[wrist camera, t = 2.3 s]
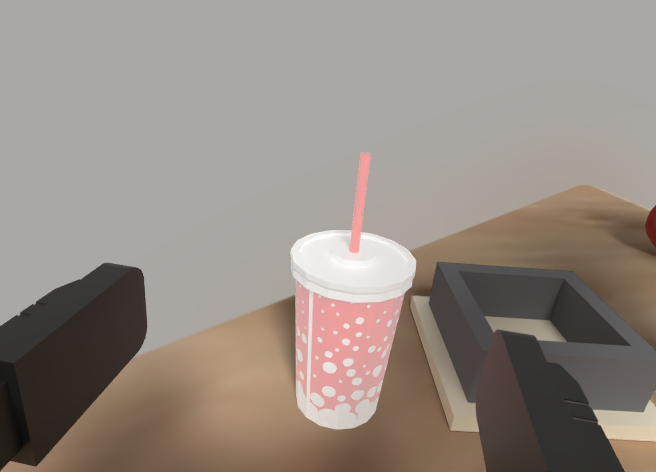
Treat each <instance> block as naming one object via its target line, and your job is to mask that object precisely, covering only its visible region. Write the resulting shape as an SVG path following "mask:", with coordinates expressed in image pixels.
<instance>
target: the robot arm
mask: <svg viewBox="0 0 656 472" xmlns="http://www.w3.org/2000/svg"><path fill="white" fill-rule="evenodd" d="M146 331H147V316H146V303H145V287H144V276H143V273H142V271H141V270H140V269H139V268H136V267H130V266H124V265H118V264H112V263H104V264H102V265H101V266H99V267H98V268H96V269H95V270H93V271H92V272H91V273H89V274H88V275H86V276H85V277H84V278H82V279H81V280H77V281H74V282H72V283H69V284H67V285H64V286H61V287H59V288H56V289H54V290H53V291H52V292H50V293H48V294H47V295H46V296H44V297H42V298H41V299H39V300H38V301H37V302H36V304H35V305H33V304H32V305H31V306H29V307H28V308H26V309H25V310H23V311H22V312H21V313H20V316H17V315H16V316H15V317H13V318H12V319H10V320H9V321H7V322H6V323H4V324H3V325H2V326H0V471H1V470H2V468H3V467H4V466H5V465H6V464H7V463H8V462H9V461H14V462H18V463H23V464H27V465H32V466H37V465H38V464H39V463H40V462H41V461H42V460H43V458H44V457H45V456H46V455H47V454H48V453H49V452H50V451H51V449H52V448H53V447H54V446H55V445H56V444H57V443H58V442H59V440H60V439H61V438H62V437H63V436H64V435H65V434H66V432H67V431H68V430H69V429H70V428H71V427H72V426H73V425H74V423H75V422H76V421H77V420H78V419H79V418H80V417H81V416H82V414H83V413H84V412H85V411H86V410H87V409H88V408H89V407H90V405H91V404H92V403H93V402H94V401H95V400H96V399H97V398H98V396H99V395H100V394H101V393H102V392H103V391H104V390H105V388H106V387H107V386H108V385H109V384H110V383H111V382H112V381H113V379H114V378H115V377H116V376H117V375H118V374H119V373H120V372H121V370H122V369H123V368H124V367H125V366H126V365H127V364H128V363H129V361H130V360H131V359H132V358H133V357H134V356H135V355H136V353H137V352H138V351H139V350H140V348H141V346H142V344H143V342H144V339H145V336H146ZM476 418H477V423H478V428H479V434H480V439H481V444H482V449H483V454H484V460H485V465H486V470H487V472H625V471H624V469H623V468H622V466H621V464H620V462H619V460H618V458H617V456H616V454H615V452H614V450H613V448H612V446H611V444H610V442H609V440H608V439H607V437H606V435H605V433H604V431H603V429H602V427H601V425H598V419H597V417H596V415H595V413H594V412H593V410H592V408H591V407H589V402H588V400H587V398H586V396H585V394H584V392H583V390H582V388H581V386H580V384H579V383H578V382H577V381H576V380H575V379H574V378H573V377H572V376H571V375H570V374H569V373H568V372H567V371H566V370H565V369H564V368H563V367H562V366H561V365H560V364H557V363H551V362H547V360H546V358H545V356H544V354H543V351H542V349H541V347H540V345H539V343H538V340H537V338H536V337H535V336H534V335H529V334H523V333H517V332H511V331H505V330H499V329H497V330H496V331H495V332H494V334H493V336H492V339H491V342H490V346H489V349H488V353H487V356H486V360H485V363H484V367H483V370H482V374H481V377H480V381H479V384H478V388H477V394H476Z"/></svg>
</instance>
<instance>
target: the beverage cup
mask: <svg viewBox="0 0 656 472" xmlns="http://www.w3.org/2000/svg"><path fill="white" fill-rule="evenodd" d="M370 159H371V153H369V152H361V153H360V161H359V171H358V178H357V187H356V196H355V205H354V214H353V222H352V230H351V231H350V230H349V231H348V230H329V231H324V232H318V233H312V234H310V235H308V236H305V237H303V238H302V239H299V240H297V242H296V243H295V244H294V246H293V247H292V249H291V252H290V256H291V260H292V261H291V264H290V265H291V270H292V274H293V277H294V278H295V291H296V292H295V308H296V397H297V404H298V407H299V408H300V410H301V411H302V412H303V414H304V415H305V416H306V417H307V418H308V419H310V420H312V421H313V422H315V423H316V424H318V425H320V426H324V427H328V428H332V429H336V430H337V429H349V428H355V427H357V426H359V425H361V424H363V423H366V422H367V421H368V420H369V419H370V418H371V416H372V415H373V414H374V413H375V411H376V407H377V403H378V399H379V395H380V391H381V387H382V383H383V379H384V375H385V371H386V367H387V363H388V359H389V355H390V351H391V347H392V343H393V339H394V335H395V331H396V327H397V323H398V319H399V315H400V311H401V307H402V303H403V299H404V295H405V292H406V291H407V290H408V289H409V288H411V287H412V281H413V278H414V276H415V270H416V259H415V258H414V257H413V256H412V254H411V253H410V252H409V250H408V249H406V248H404V247H403V246H401V245H399V244H398V243H396V242H394V241H393V240H390V239H387V238H384V237H381V236H378V235H375V234H370V233H364V232H361V231H362V223H363V215H364V207H365V199H366V190H367V182H368V175H369V167H370Z"/></svg>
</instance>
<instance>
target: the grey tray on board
mask: <svg viewBox="0 0 656 472" xmlns="http://www.w3.org/2000/svg"><path fill="white" fill-rule="evenodd" d="M410 308H411V311H412V314H413V317H414V320H415V323H416V326H417V330H418V333H419V336H420V339H421V342H422V345H423V348H424V351H425V354H426V357H427V360H428V363H429V366H430V369H431V372H432V376H433V379H434V382H435V385H436V388H437V391H438V394H439V397H440V400H441V403H442V406H443V409H444V412H445V415H446V419H447V422H448V425H449V428H450V431H467V432H479V428H478V423H477V418H476V394H477V388H478V384H479V381H480V377H481V374H482V370H483V367H484V363H485V360H486V356H487V353H488V349H489V346H490V342H491V339H492V336H493V334H494V332H495V331H496V330H497V329H499V330H505V331H511V332H517V333H523V334H529V335H534V336H535V337H536V338H537V340H538V343H539V345H540V347H541V349H542V351H543V354H544V356H545V358H546V360H547V362H551V363H557V364H560V365H561V366H562V367H563V368H564V369H565V370H566V371H567V372H568V373H569V374H570V375H571V376H572V377H573V378H574V379H575V380H576V381H577V382H578V383H579V384H580V386H581V388H582V390H583V392H584V394H585V396H586V398H587V400H588V402H589V407H591V408H592V410H593V412H594V413H595V415H596V417H597V419H598V425H601V427H602V429H603V431H604V433H605V435H606V437H607V439H620V440H639V441H656V406H655V405H654V404H653V403H652V402H651V401H650V398H651V396H652V394H653V392H654V390H655V388H656V350H655V349H654V348H653V347H652V346H651V345H650V344H649V343H647V342H646V341H645V340H644V339H643V338H642V337H641V336H640V335H639V334H638V333H637V332H636V331H635V330H634V329H633V328H632V327H631V326H630V325H628V324H627V323H626V322H625V321H624V320H623V319H622V318H621V317H620V316H619V315H618V314H617V313H616V312H615V311H614V310H613V309H612V308H611V307H609V306H608V305H607V304H606V303H605V302H604V301H603V300H602V299H601V298H600V297H599V296H598V295H597V294H596V293H595V292H594V291H593V290H591V289H590V288H589V287H588V286H587V285H586V284H585V283H584V282H583V281H582V280H581V279H580V278H579V277H578V276H577V275H576V274H575V273H574V272H572V271H560V270H546V269H531V268H517V267H503V266H488V265H474V264H460V263H445V262H437V265H436V270H435V275H434V280H433V285H432V290H431V295H430V297H428V296H413V295H412V298H411V304H410Z"/></svg>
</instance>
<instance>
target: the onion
mask: <svg viewBox="0 0 656 472" xmlns="http://www.w3.org/2000/svg"><path fill="white" fill-rule="evenodd" d="M645 227H646V233H647V235H648V237H649V239H650V240H651V242H652V243H653V244H654V246H655V247H656V206H655V207H654V208H653V209H652V210H651V212H650V214H649V215H648V218H647V222H646V225H645Z"/></svg>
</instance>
